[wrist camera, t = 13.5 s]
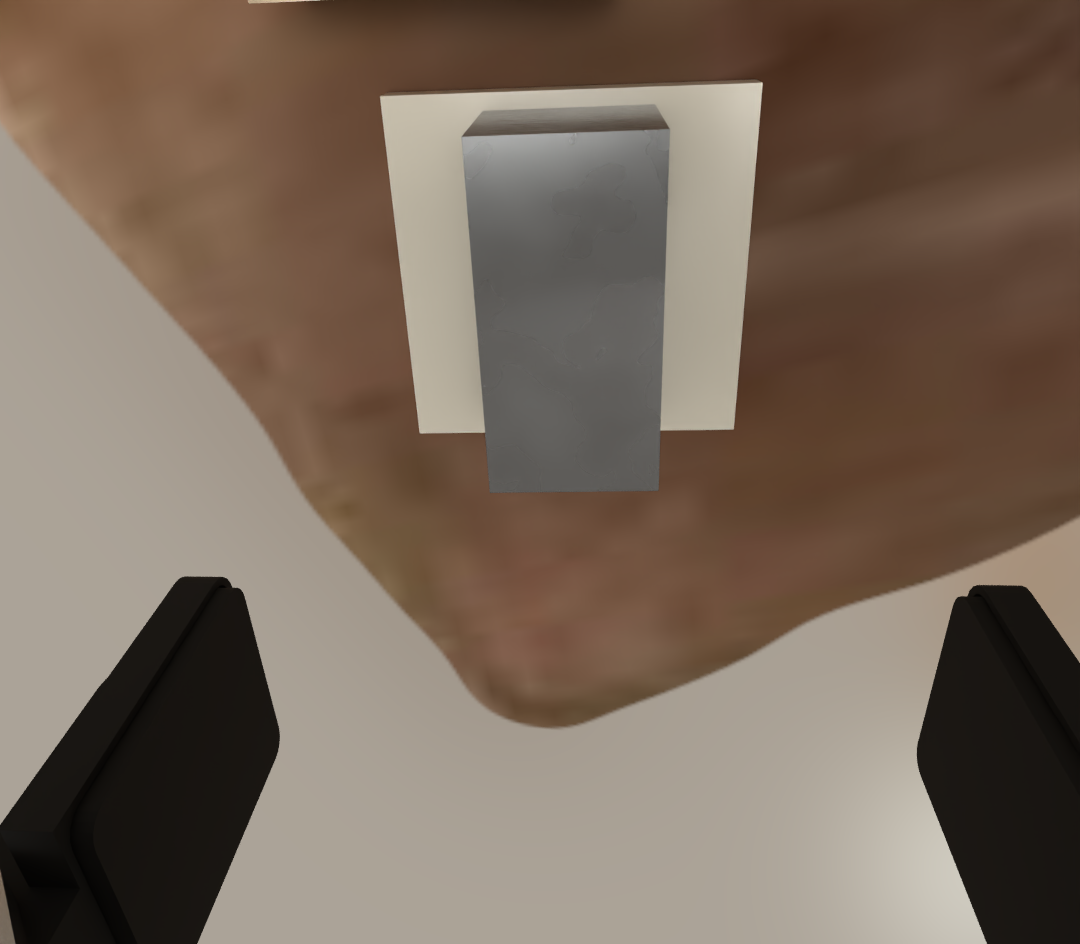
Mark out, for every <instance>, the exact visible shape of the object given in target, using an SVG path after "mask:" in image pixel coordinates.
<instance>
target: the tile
mask: <svg viewBox="0 0 1080 944" xmlns="http://www.w3.org/2000/svg"><path fill="white" fill-rule="evenodd" d="M762 85H763V83H762V82H760V81H759V80H757V79H755V80H726V81H698V82H670V83H641V84H613V85H584V86H556V87H528V88H499V89H471V90H443V91H414V92H387V93H385V94H383V95H381V96H380V101H381V109H382V118H383V126H384V135H385V143H386V151H387V160H388V168H389V177H390V185H391V194H392V202H393V211H394V219H395V228H396V236H397V245H398V253H399V262H400V270H401V279H402V287H403V296H404V304H405V313H406V321H407V330H408V338H409V347H410V355H411V363H412V372H413V380H414V389H415V397H416V406H417V414H418V423H419V431H420V433H485V425H484V413H483V400H482V388H481V376H480V363H479V351H478V338H477V326H476V313H475V301H474V288H473V276H472V263H471V251H470V239H469V226H468V214H467V201H466V189H465V176H464V164H463V151H462V139H461V137H462V135H463V134H464V133H465V132H466V131H467V129H468V128H469V127H470V126H471V124H472V123H473V122H474V121H475V120H476V118H477V117H478V116H479V115H480V114H481V112H482V111H491V110H518V109H544V108H570V107H597V106H623V105H649V104H655V105H656V107H657V108H658V110H659V112H660V113H661V115H662V117H663V118H664V120H665V122H666V123H667V125H668V127H669V128H670V146H669V177H668V209H667V240H666V271H665V302H664V334H663V365H662V396H661V427H660V430H734V421H735V409H736V397H737V385H738V373H739V361H740V349H741V337H742V325H743V313H744V301H745V289H746V277H747V265H748V253H749V241H750V229H751V217H752V205H753V193H754V181H755V169H756V157H757V145H758V133H759V121H760V109H761V97H762Z"/></svg>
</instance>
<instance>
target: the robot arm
mask: <svg viewBox="0 0 1080 944" xmlns="http://www.w3.org/2000/svg"><path fill="white" fill-rule="evenodd" d="M279 741H280V734H279V726H278V723H277V719H276V715H275V711H274V708H273V704H272V700H271V696H270V692H269V688H268V685H267V681H266V677H265V673H264V669H263V665H262V662H261V658H260V654H259V650H258V647H257V642H256V639H255V635H254V631H253V627H252V623H251V620H250V616H249V612H248V608H247V604H246V600H245V597H244V594H243V592H242V591H241V589H239V588H232V586H231V583H230V582H229V581H228V579H227V578H224V577H182V578H180V579H179V580H178V581H177V582H176V583H175V584H174V585H173V587H172V588H171V590H170V591H169V592H168V594H167V595H166V597H165V598H164V599H163V601H162V602H161V604H160V605H159V606H158V608H157V609H156V611H155V612H154V613H153V615H152V616H151V618H150V619H149V620H148V622H147V623H146V625H145V626H144V627H143V629H142V630H141V632H140V633H139V635H138V636H137V637H136V639H135V640H134V641H133V643H132V644H131V646H130V647H129V648H128V650H127V651H126V653H125V654H124V655H123V657H122V658H121V660H120V661H119V663H118V664H117V665H116V667H115V668H114V670H113V671H112V672H111V674H110V675H109V677H108V678H107V679H106V680H105V681H104V682H103V683H102V684H101V686H100V687H99V688H98V689H97V691H96V692H95V693H94V695H93V696H92V698H91V699H90V700H89V702H88V703H87V705H86V706H85V707H84V709H83V710H82V711H81V713H80V714H79V716H78V717H77V718H76V720H75V722H74V723H73V724H72V725H71V727H70V728H69V730H68V731H67V733H66V734H65V735H64V737H63V738H62V739H61V741H60V742H59V744H58V745H57V747H56V748H55V749H54V751H53V752H52V753H51V755H50V756H49V758H48V759H47V760H46V762H45V763H44V765H43V766H42V768H41V769H40V770H39V772H38V773H37V774H36V776H35V777H34V779H33V780H32V781H31V783H30V784H29V786H28V787H27V788H26V790H25V791H24V793H23V794H22V795H21V797H20V798H19V800H18V801H17V802H16V804H15V805H14V807H13V808H12V809H11V811H10V812H9V814H8V815H7V816H6V818H5V819H4V820H3V822H2V823H1V825H0V944H197V943H198V941H199V938H200V936H201V933H202V931H203V929H204V926H205V924H206V922H207V919H208V917H209V915H210V912H211V910H212V907H213V905H214V903H215V900H216V898H217V896H218V893H219V891H220V889H221V886H222V884H223V882H224V879H225V877H226V874H227V872H228V870H229V867H230V865H231V862H232V860H233V858H234V855H235V853H236V850H237V848H238V846H239V844H240V841H241V839H242V837H243V834H244V832H245V830H246V827H247V825H248V823H249V820H250V818H251V815H252V813H253V811H254V808H255V806H256V803H257V801H258V799H259V796H260V794H261V792H262V789H263V787H264V785H265V782H266V780H267V778H268V775H269V773H270V770H271V768H272V766H273V763H274V761H275V759H276V756H277V753H278V748H279ZM917 763H918V768H919V772H920V775H921V777H922V780H923V783H924V785H925V788H926V790H927V793H928V795H929V798H930V800H931V803H932V805H933V808H934V811H935V813H936V816H937V818H938V821H939V823H940V826H941V828H942V831H943V833H944V836H945V838H946V841H947V843H948V846H949V849H950V851H951V854H952V856H953V859H954V861H955V863H956V866H957V869H958V871H959V874H960V876H961V879H962V881H963V884H964V887H965V889H966V892H967V894H968V897H969V899H970V902H971V904H972V907H973V909H974V912H975V914H976V917H977V919H978V922H979V925H980V927H981V930H982V932H983V934H984V937H985V940H986V942H987V944H1080V663H1079V661H1078V660H1077V658H1076V657H1075V655H1074V654H1073V653H1072V651H1071V650H1070V648H1069V647H1068V645H1067V644H1066V643H1065V641H1064V640H1063V638H1062V637H1061V635H1060V634H1059V632H1058V631H1057V629H1056V628H1055V627H1054V625H1053V624H1052V622H1051V621H1050V619H1049V618H1048V617H1047V615H1046V614H1045V612H1044V611H1043V609H1042V608H1041V606H1040V605H1039V604H1038V602H1037V601H1036V599H1035V598H1034V596H1033V595H1032V593H1031V592H1030V591H1029V590H1028V589H1027V588H1026V587H1023V586H1003V585H1002V586H1001V585H997V586H996V585H994V586H993V585H977V586H973V588H972V589H971V590H970V591H969V594H968V596H967V597H964V596H961V597H958V598H957V599H956V600H955V602H954V605H953V608H952V612H951V616H950V620H949V624H948V628H947V631H946V635H945V639H944V643H943V647H942V651H941V655H940V659H939V663H938V667H937V670H936V674H935V679H934V682H933V686H932V690H931V694H930V698H929V702H928V705H927V710H926V714H925V717H924V721H923V726H922V729H921V733H920V737H919V741H918V746H917Z"/></svg>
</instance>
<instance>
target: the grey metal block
mask: <svg viewBox="0 0 1080 944" xmlns="http://www.w3.org/2000/svg"><path fill="white" fill-rule="evenodd" d="M461 139H462V151H463V164H464V176H465V189H466V201H467V214H468V226H469V239H470V251H471V263H472V276H473V288H474V301H475V313H476V326H477V338H478V351H479V363H480V376H481V388H482V400H483V413H484V425H485V438H486V450H487V463H488V475H489V488H490V493H507V492H594V491H658V490H659V458H660V427H661V396H662V365H663V334H664V302H665V271H666V240H667V209H668V177H669V146H670V128H669V127H668V125H667V123H666V122H665V120H664V118H663V117H662V115H661V113H660V112H659V110H658V108H657V107H656V105H655V104H649V105H623V106H597V107H570V108H544V109H518V110H491V111H482V112H481V114H480V115H479V116H478V117H477V118H476V120H475V121H474V122H473V123H472V124H471V126H470V127H469V128H468V129H467V131H466V132H465V133H464V134H463V135H462V137H461Z"/></svg>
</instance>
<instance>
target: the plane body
mask: <svg viewBox="0 0 1080 944" xmlns="http://www.w3.org/2000/svg"><path fill="white" fill-rule="evenodd" d="M294 1H318V0H248V3H270V2H294Z"/></svg>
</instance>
